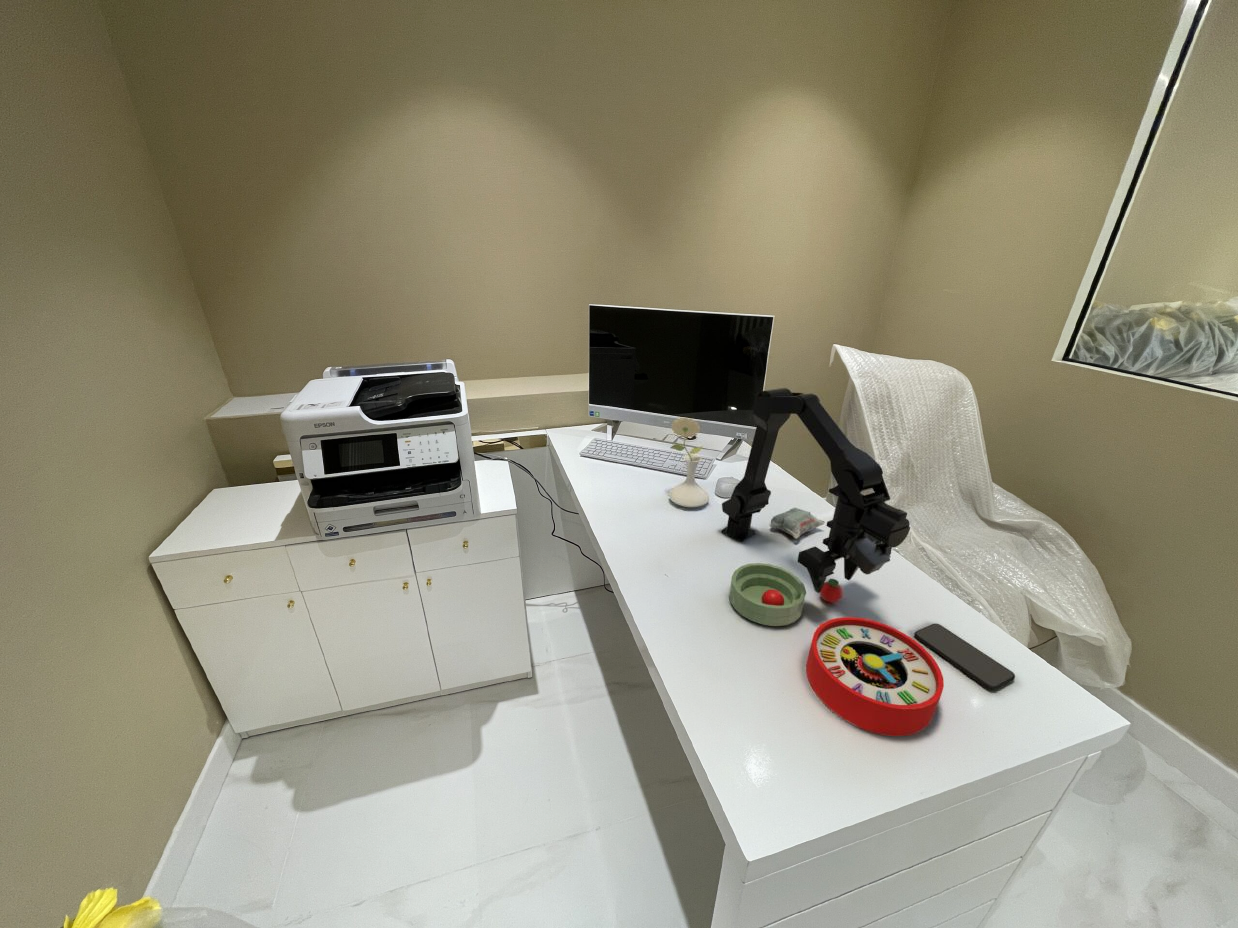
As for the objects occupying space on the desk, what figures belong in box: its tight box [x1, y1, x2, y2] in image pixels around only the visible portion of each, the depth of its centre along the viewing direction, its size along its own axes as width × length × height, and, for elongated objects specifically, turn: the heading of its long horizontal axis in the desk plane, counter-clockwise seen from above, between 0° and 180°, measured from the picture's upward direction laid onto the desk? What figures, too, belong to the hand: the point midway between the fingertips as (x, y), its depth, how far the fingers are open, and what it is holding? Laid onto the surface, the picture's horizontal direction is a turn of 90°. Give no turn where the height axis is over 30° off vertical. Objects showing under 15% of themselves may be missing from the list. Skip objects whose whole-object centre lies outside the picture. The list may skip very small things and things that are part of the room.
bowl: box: [728, 562, 807, 627], centre depth 104 cm, size 15×15×5 cm
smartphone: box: [913, 623, 1016, 691], centre depth 92 cm, size 7×1×15 cm
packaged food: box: [769, 507, 826, 540], centre depth 131 cm, size 9×12×5 cm
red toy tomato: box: [819, 578, 844, 604], centre depth 105 cm, size 4×4×5 cm
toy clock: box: [805, 616, 945, 737], centre depth 85 cm, size 20×6×20 cm
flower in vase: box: [668, 416, 710, 508], centre depth 140 cm, size 13×11×25 cm
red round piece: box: [761, 589, 784, 606], centre depth 101 cm, size 4×4×5 cm
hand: (832, 585), depth 105 cm, fingers open, 9 cm apart
